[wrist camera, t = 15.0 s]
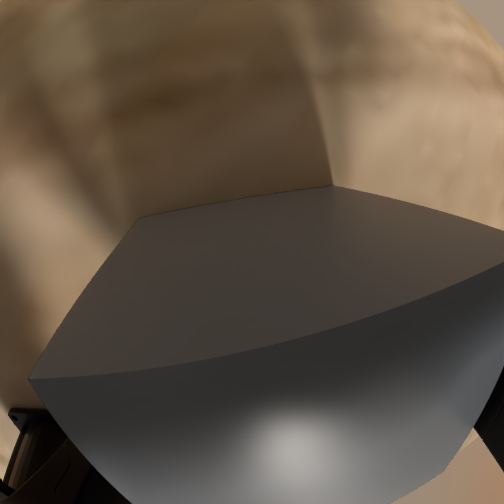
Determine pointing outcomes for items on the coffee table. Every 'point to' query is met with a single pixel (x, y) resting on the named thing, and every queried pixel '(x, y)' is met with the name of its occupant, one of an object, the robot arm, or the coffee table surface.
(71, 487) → the robot arm
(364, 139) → the coffee table surface
